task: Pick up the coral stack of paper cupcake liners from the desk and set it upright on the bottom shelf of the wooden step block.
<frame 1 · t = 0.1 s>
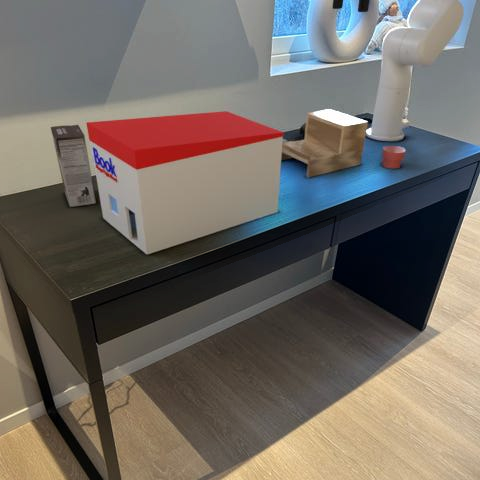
hand: (349, 10, 130), 37 cm above the table, tool pointing down, fingers open, 9 cm apart
fossilized seashell: (311, 137, 161), on the table
bookstore: (191, 216, 112), on the table
wooden step block: (317, 162, 141), on the table
coffee box: (80, 199, 118), on the table
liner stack: (390, 165, 140), on the table
soldier figure: (280, 148, 151), on the table
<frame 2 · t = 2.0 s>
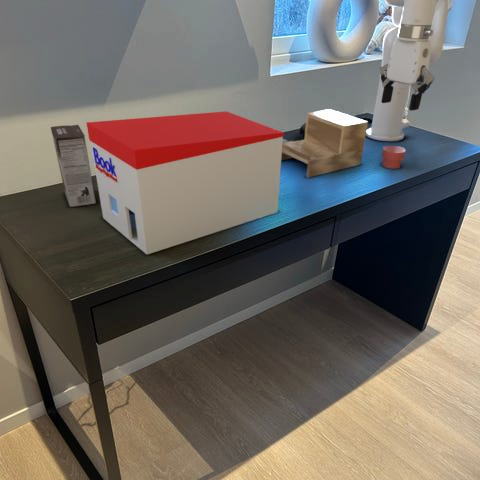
hand: (399, 106, 131), 16 cm above the table, tool pointing down, fingers open, 9 cm apart
nothing on the table moved.
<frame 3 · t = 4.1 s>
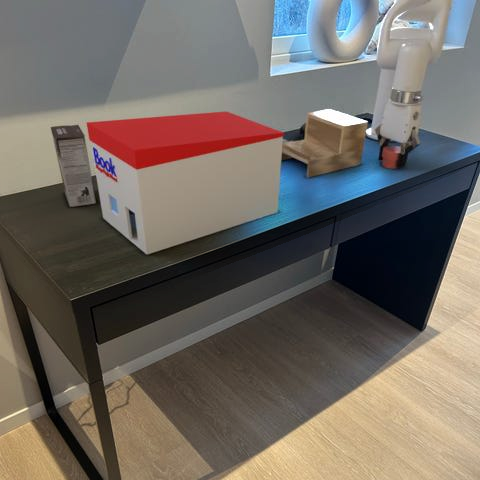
hand: (391, 162, 140), 1 cm above the table, tool pointing down, fingers closed on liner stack, 6 cm apart
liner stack: (390, 165, 140), on the table, touching gripper
everything else where it was.
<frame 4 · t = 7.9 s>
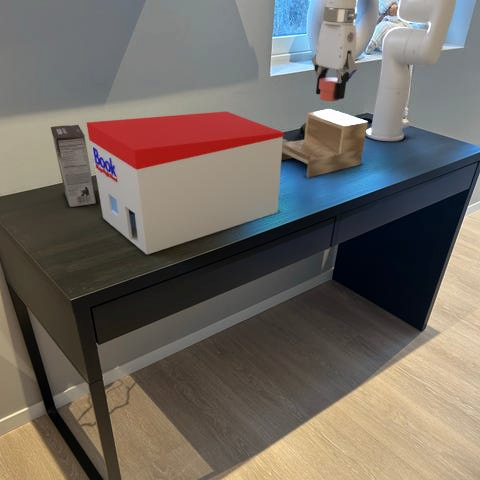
hand: (329, 95, 128), 19 cm above the table, tool pointing down, fingers closed on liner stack, 6 cm apart
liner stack: (329, 99, 128), point 18 cm above the table, touching gripper
everything else where it was.
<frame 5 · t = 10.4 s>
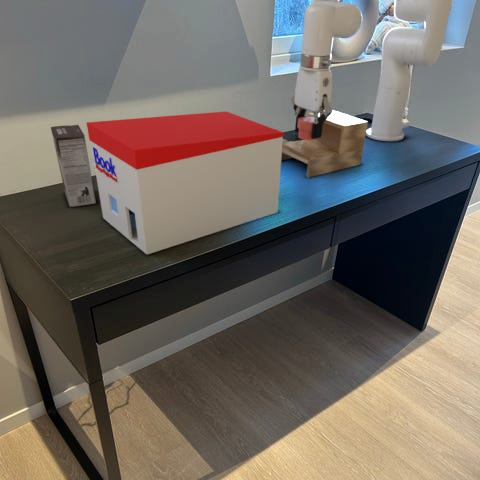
hand: (308, 134, 134), 9 cm above the table, tool pointing down, fingers closed on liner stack, 6 cm apart
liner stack: (307, 137, 134), point 8 cm above the table, touching gripper
everything else where it was.
when the fingers open (5 cm above the table, at t = 11.9 s): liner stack stays where it is, resting on wooden step block.
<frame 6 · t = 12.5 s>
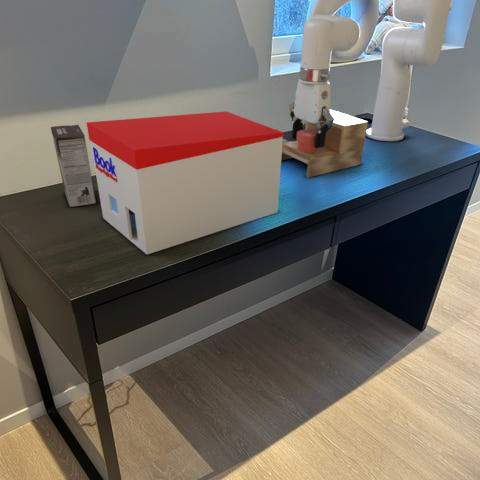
hand: (307, 142, 135), 7 cm above the table, tool pointing down, fingers open, 9 cm apart
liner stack: (306, 149, 136), point 4 cm above the table, touching wooden step block
everything else where it was.
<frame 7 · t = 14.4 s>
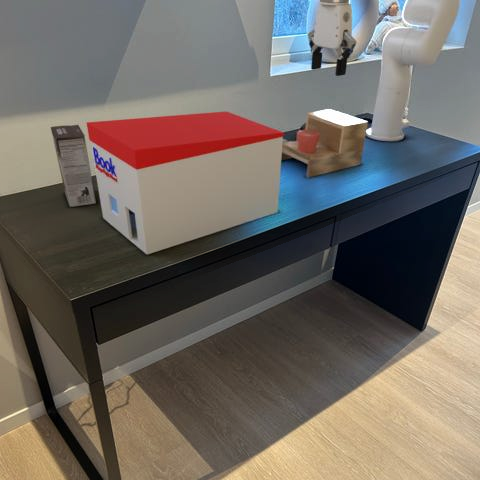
hand: (327, 72, 132), 23 cm above the table, tool pointing down, fingers open, 9 cm apart
nothing on the table moved.
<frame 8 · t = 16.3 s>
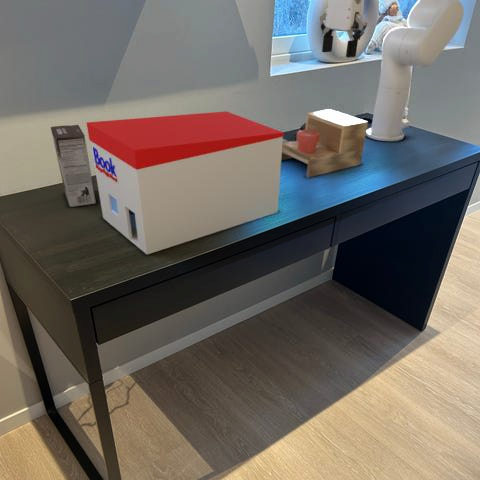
hand: (338, 54, 136), 26 cm above the table, tool pointing down, fingers open, 9 cm apart
nothing on the table moved.
at the end: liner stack inside the target area on the wooden step block (0.9 cm from its centre), point 4.5 cm above the wooden step block's base; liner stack tilted 0°; the gripper is holding nothing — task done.
